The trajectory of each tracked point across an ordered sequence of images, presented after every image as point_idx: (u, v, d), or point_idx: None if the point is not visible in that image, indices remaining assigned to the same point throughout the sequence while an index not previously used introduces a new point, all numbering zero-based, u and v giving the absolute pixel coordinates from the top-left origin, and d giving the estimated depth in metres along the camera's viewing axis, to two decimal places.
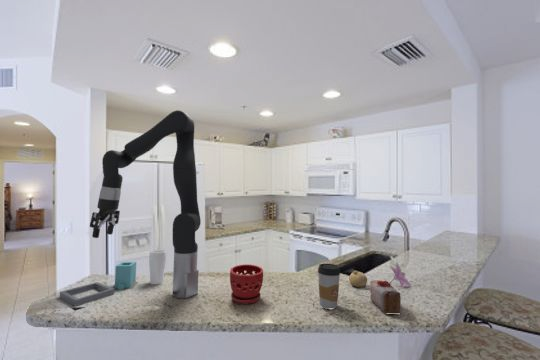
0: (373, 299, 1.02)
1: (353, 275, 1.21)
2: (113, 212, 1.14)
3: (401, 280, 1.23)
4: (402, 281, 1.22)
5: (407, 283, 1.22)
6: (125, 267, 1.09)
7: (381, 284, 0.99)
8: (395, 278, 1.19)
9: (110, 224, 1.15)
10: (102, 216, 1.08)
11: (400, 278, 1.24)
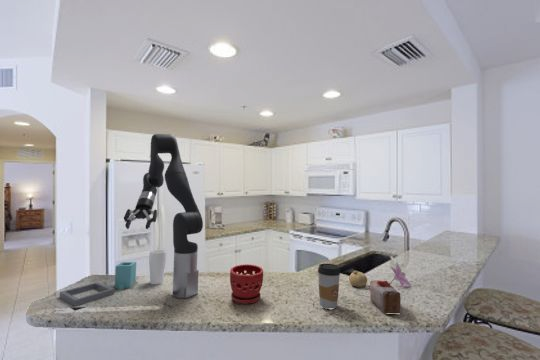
0: (373, 299, 1.02)
1: (353, 275, 1.21)
2: (147, 210, 1.31)
3: (401, 280, 1.23)
4: (402, 281, 1.22)
5: (407, 283, 1.22)
6: (125, 267, 1.09)
7: (381, 284, 0.99)
8: (395, 278, 1.19)
9: None
10: (133, 212, 1.29)
11: (400, 278, 1.24)
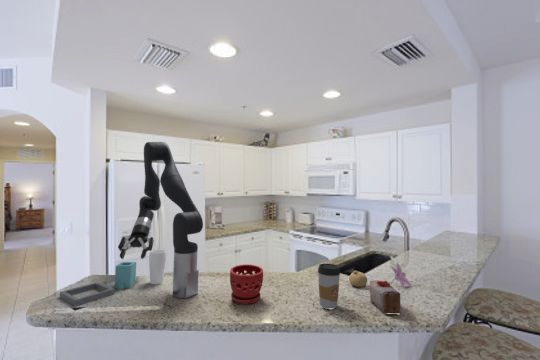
0: (373, 299, 1.02)
1: (353, 275, 1.21)
2: (143, 237, 1.25)
3: (402, 280, 1.22)
4: (403, 281, 1.22)
5: (408, 283, 1.22)
6: (125, 267, 1.09)
7: (381, 284, 0.99)
8: (396, 278, 1.19)
9: None
10: (128, 240, 1.23)
11: (401, 278, 1.24)
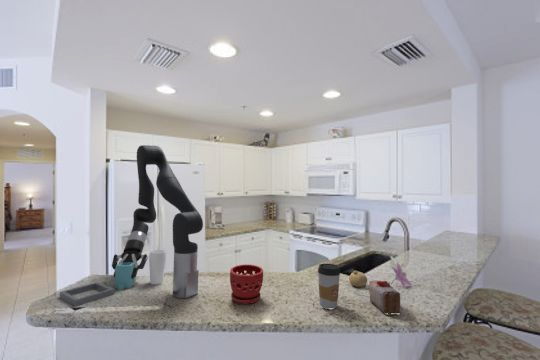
0: (372, 299, 1.01)
1: (353, 275, 1.21)
2: (137, 253, 1.17)
3: (402, 280, 1.22)
4: (403, 281, 1.22)
5: (408, 283, 1.22)
6: (125, 267, 1.09)
7: (381, 284, 0.99)
8: (396, 278, 1.19)
9: None
10: (122, 256, 1.16)
11: (401, 278, 1.24)
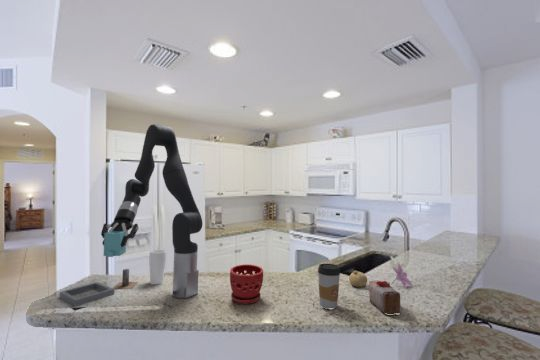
0: (372, 300, 1.01)
1: (353, 275, 1.21)
2: (128, 223, 1.14)
3: (403, 280, 1.22)
4: (404, 281, 1.22)
5: (409, 283, 1.22)
6: (114, 234, 1.06)
7: (380, 284, 0.99)
8: (397, 278, 1.19)
9: None
10: (112, 225, 1.13)
11: (402, 278, 1.24)
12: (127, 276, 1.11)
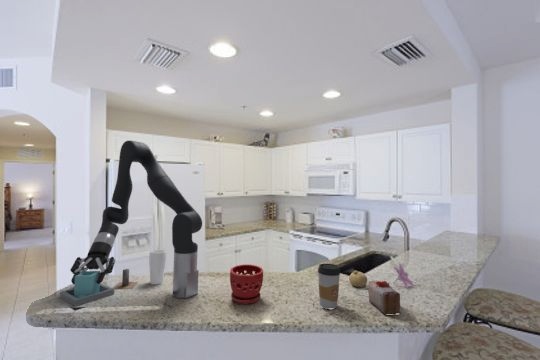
0: (372, 300, 1.01)
1: (353, 275, 1.21)
2: (102, 257, 1.06)
3: (404, 280, 1.22)
4: (405, 281, 1.22)
5: (410, 283, 1.22)
6: (86, 277, 0.98)
7: (380, 285, 0.99)
8: (399, 278, 1.19)
9: None
10: (84, 261, 1.04)
11: (403, 278, 1.23)
12: (127, 276, 1.11)
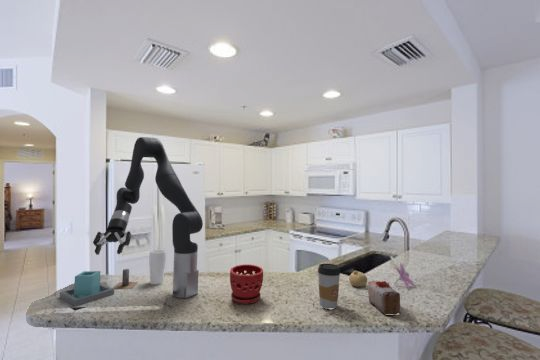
0: (372, 300, 1.01)
1: (353, 275, 1.21)
2: (120, 232, 1.20)
3: (406, 280, 1.22)
4: (407, 281, 1.22)
5: (411, 283, 1.22)
6: (86, 277, 0.98)
7: (380, 285, 0.99)
8: (400, 279, 1.19)
9: None
10: (104, 235, 1.19)
11: (404, 278, 1.23)
12: (127, 276, 1.11)
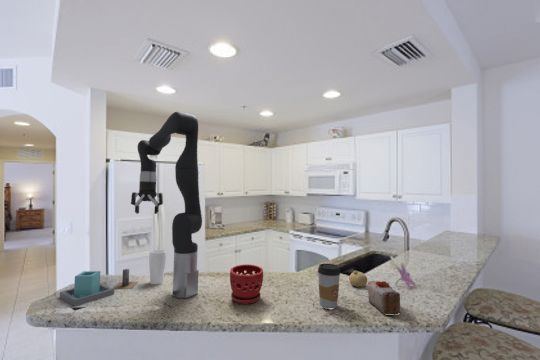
0: (372, 300, 1.01)
1: (353, 275, 1.21)
2: (152, 193, 1.30)
3: (407, 281, 1.22)
4: (408, 282, 1.22)
5: (413, 283, 1.22)
6: (86, 277, 0.98)
7: (380, 285, 0.98)
8: (402, 279, 1.18)
9: None
10: (139, 195, 1.30)
11: (405, 278, 1.23)
12: (127, 276, 1.11)
